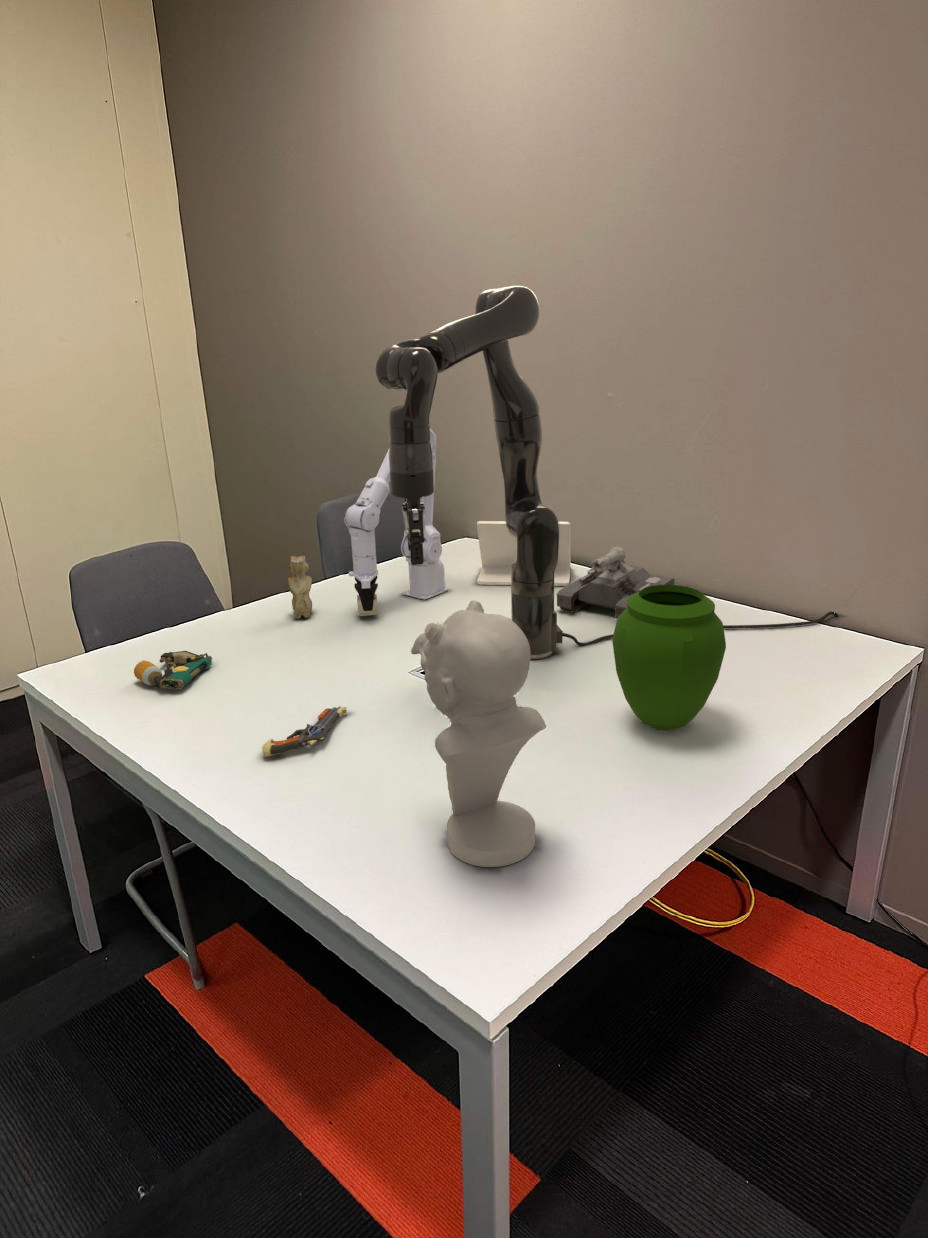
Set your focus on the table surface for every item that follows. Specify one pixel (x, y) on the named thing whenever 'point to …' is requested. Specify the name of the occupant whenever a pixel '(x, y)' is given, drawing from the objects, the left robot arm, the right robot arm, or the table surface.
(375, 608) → the brick
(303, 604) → the sculpture
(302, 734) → the toy gun
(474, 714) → the bust sculpture
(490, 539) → the tablet stand
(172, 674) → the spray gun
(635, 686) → the vase
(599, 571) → the toy
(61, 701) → the table surface
